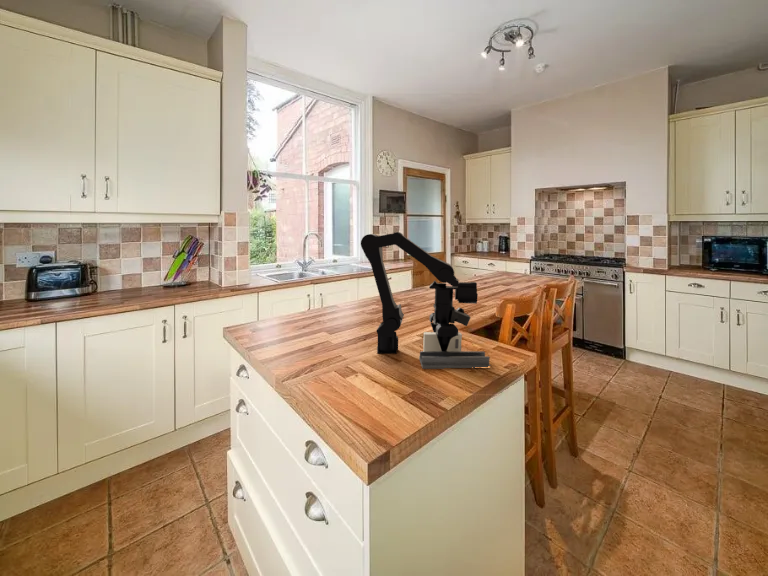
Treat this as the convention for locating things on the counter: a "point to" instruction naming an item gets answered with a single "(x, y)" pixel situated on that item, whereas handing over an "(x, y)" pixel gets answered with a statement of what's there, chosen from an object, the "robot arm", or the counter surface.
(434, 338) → the door panel
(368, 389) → the counter surface
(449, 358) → the track
